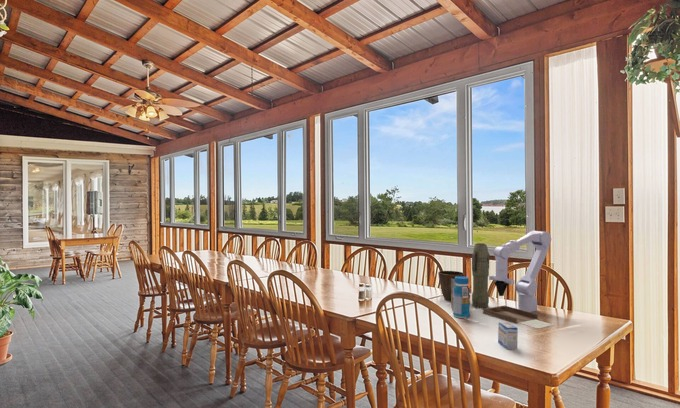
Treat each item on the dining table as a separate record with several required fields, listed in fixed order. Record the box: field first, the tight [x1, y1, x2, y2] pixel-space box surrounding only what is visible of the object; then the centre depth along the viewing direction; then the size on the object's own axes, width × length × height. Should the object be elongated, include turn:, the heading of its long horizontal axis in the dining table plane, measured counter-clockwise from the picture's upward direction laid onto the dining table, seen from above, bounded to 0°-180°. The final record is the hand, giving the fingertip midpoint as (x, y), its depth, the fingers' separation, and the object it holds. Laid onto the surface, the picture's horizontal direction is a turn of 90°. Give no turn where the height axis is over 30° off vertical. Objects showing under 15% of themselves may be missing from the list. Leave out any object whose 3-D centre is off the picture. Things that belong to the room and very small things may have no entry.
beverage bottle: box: [452, 275, 471, 319], centre depth 213 cm, size 8×8×20 cm
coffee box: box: [450, 279, 456, 312], centre depth 226 cm, size 9×6×16 cm
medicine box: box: [497, 321, 519, 350], centre depth 170 cm, size 8×4×9 cm, turn 5°
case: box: [482, 305, 539, 324], centre depth 211 cm, size 16×20×3 cm
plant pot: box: [438, 270, 465, 302], centre depth 249 cm, size 15×15×16 cm
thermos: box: [471, 242, 490, 310], centre depth 233 cm, size 9×12×35 cm
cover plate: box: [519, 319, 554, 330], centre depth 198 cm, size 12×10×2 cm
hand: (501, 295), depth 218 cm, fingers closed
